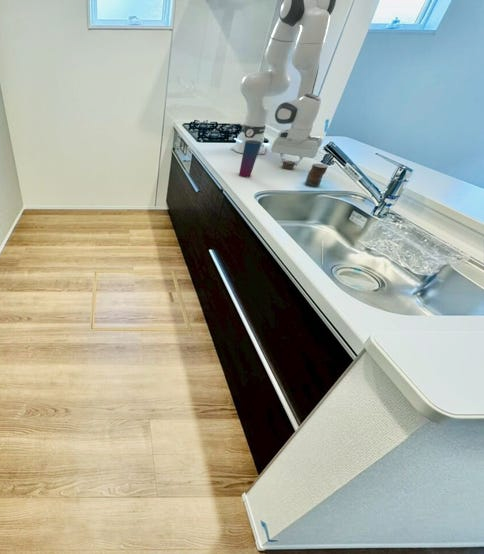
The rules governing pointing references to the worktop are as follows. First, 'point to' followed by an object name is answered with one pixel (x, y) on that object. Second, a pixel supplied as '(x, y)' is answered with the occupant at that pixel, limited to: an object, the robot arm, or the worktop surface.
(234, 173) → the worktop surface
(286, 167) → the brown short cylinder
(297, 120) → the robot arm
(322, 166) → the dark brown cylindrical piece
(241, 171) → the cup
